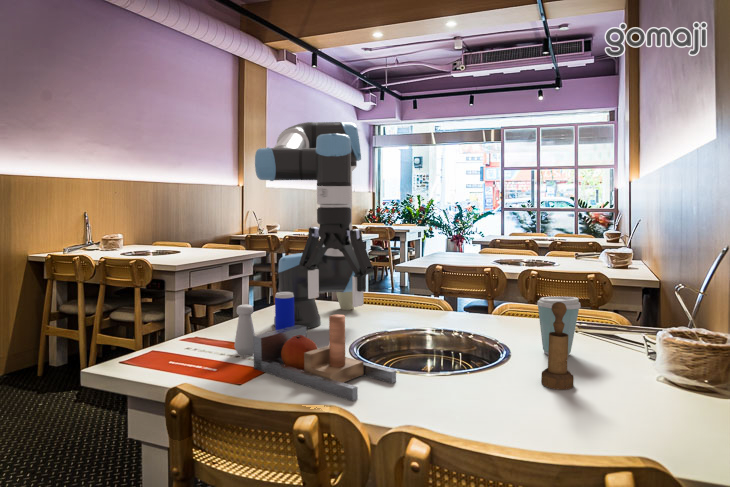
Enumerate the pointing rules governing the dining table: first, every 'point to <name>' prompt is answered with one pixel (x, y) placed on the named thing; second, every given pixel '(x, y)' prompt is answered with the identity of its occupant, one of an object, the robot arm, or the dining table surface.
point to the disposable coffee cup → (549, 318)
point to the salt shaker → (244, 331)
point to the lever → (333, 355)
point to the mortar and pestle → (558, 354)
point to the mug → (345, 300)
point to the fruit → (296, 351)
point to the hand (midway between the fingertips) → (334, 301)
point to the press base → (271, 362)
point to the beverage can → (284, 310)
